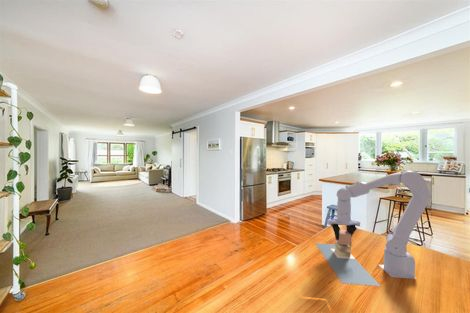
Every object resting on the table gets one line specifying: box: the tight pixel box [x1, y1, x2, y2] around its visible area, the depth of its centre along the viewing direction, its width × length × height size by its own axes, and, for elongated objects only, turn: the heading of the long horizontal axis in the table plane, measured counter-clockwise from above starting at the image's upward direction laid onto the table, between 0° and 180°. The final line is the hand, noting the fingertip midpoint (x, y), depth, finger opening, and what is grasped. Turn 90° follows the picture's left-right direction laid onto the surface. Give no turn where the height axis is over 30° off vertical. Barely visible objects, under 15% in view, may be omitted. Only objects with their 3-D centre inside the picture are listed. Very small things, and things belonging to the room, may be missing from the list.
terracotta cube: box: [334, 229, 352, 246], centre depth 89 cm, size 5×5×5 cm
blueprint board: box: [315, 242, 381, 287], centre depth 84 cm, size 14×30×1 cm, turn 174°
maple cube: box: [334, 240, 352, 257], centre depth 89 cm, size 5×5×5 cm
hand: (342, 239), depth 89 cm, fingers closed on terracotta cube, 5 cm apart
